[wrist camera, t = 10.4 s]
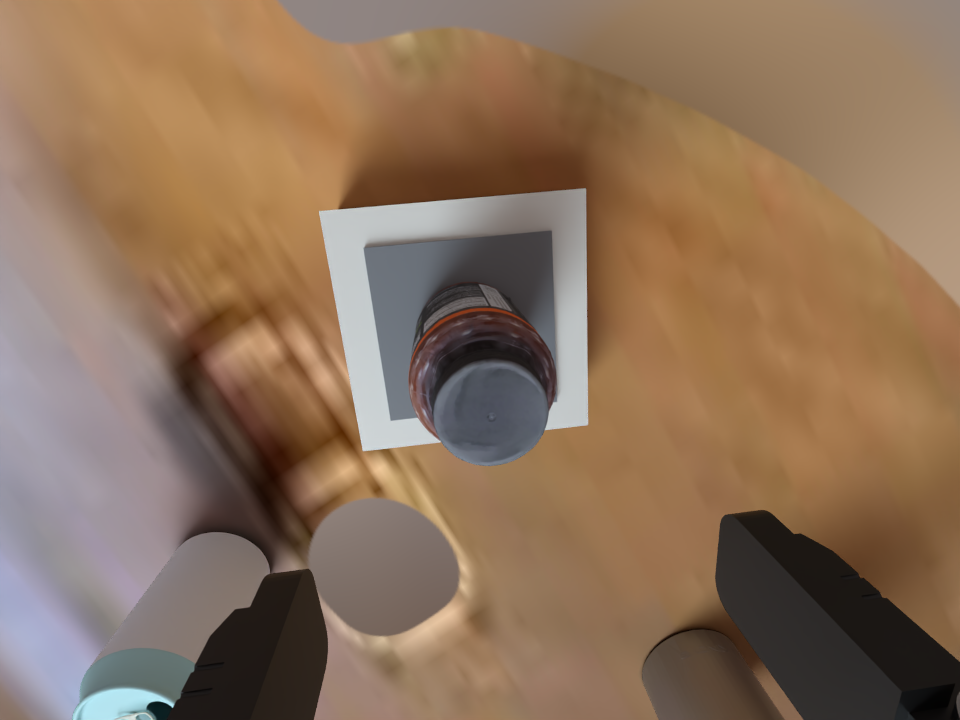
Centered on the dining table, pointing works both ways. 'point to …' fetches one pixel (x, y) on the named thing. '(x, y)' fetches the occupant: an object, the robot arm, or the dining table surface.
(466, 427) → the supplement bottle
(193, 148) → the dining table surface
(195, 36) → the dining table surface
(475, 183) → the dining table surface
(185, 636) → the can
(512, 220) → the white and gray stand
